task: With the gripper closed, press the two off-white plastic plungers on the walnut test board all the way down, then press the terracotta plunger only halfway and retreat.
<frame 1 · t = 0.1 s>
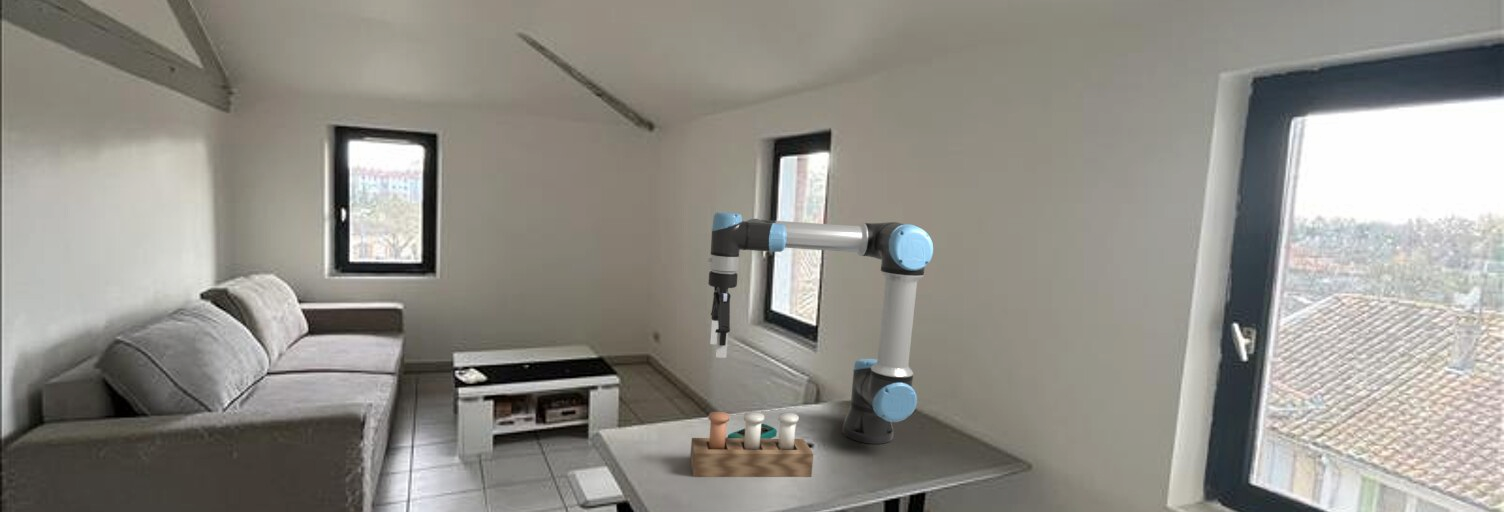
hand: (717, 350, 180), 28 cm above the table, fingers open, 13 cm apart
plug terracotta: (717, 432, 172), point 10 cm above the table, slide at 0.0 cm
digital multimeter: (752, 440, 194), on the table
test board: (750, 468, 174), on the table
plug near: (787, 433, 175), point 10 cm above the table, slide at 0.0 cm
plug mid: (752, 432, 173), point 10 cm above the table, slide at 0.0 cm
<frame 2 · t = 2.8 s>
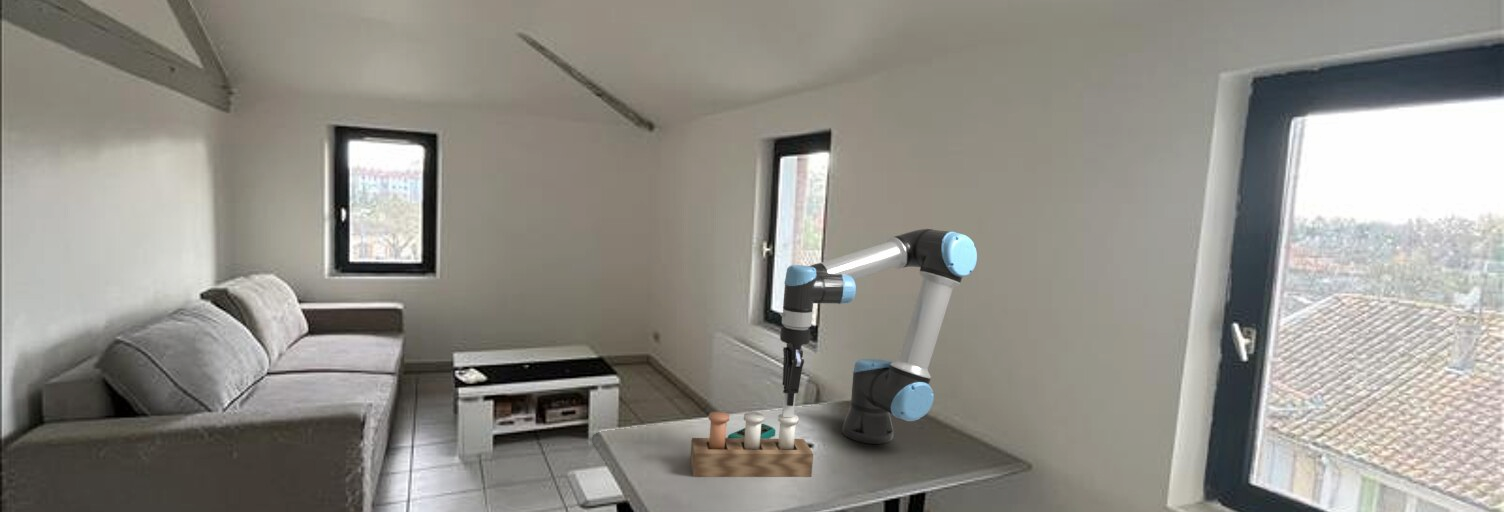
hand: (787, 416, 174), 14 cm above the table, fingers closed
plug near: (787, 433, 175), point 9 cm above the table, slide at 0.3 cm, touching gripper
everything else where it was.
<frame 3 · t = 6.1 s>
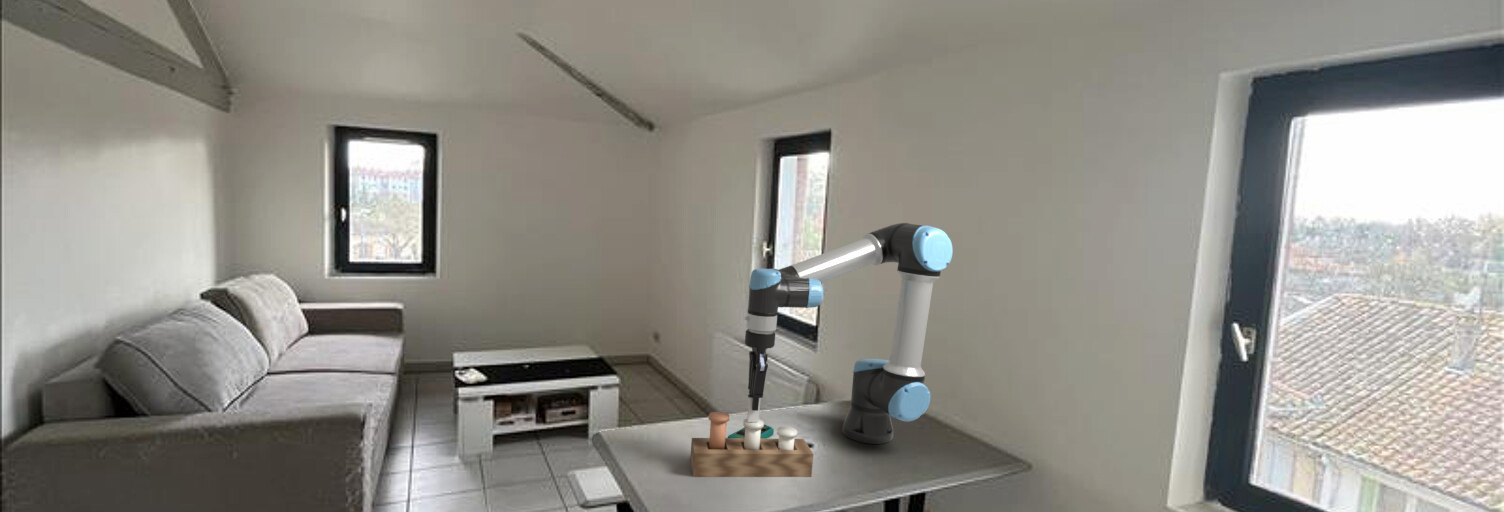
hand: (752, 420, 173), 13 cm above the table, fingers closed
plug near: (785, 447, 175), point 6 cm above the table, slide at 3.8 cm
plug mid: (752, 438, 173), point 8 cm above the table, slide at 1.7 cm, touching gripper
everything else where it was.
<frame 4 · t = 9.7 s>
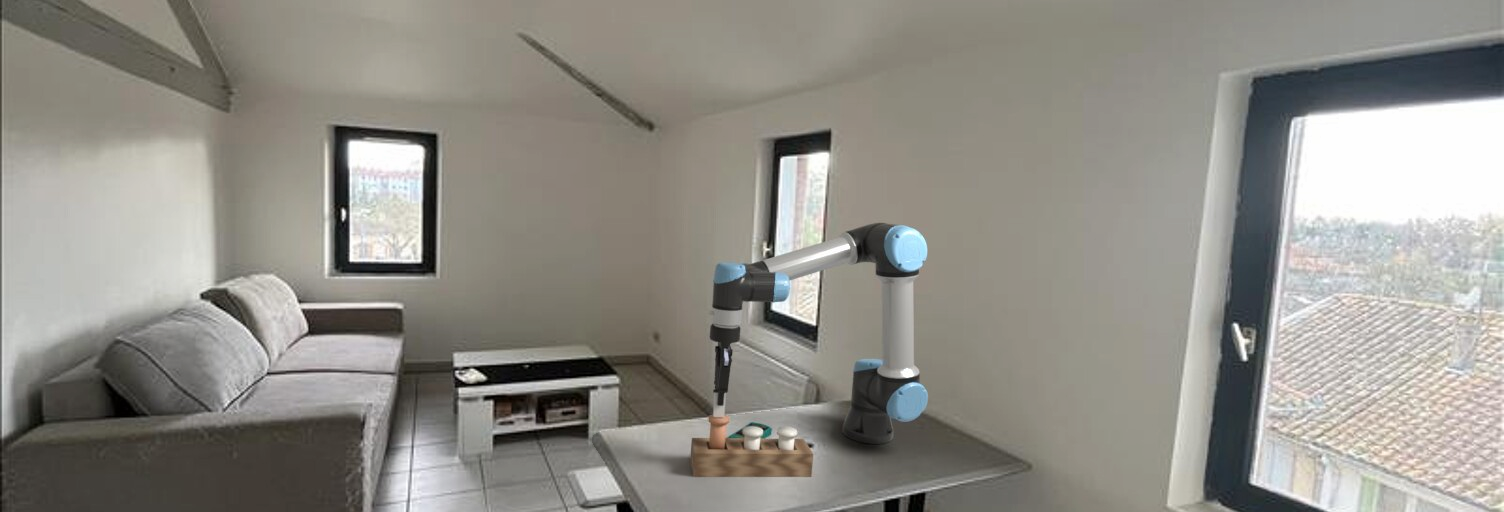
hand: (718, 416, 171), 14 cm above the table, fingers closed
plug terracotta: (717, 434, 172), point 9 cm above the table, slide at 0.6 cm, touching gripper
plug mid: (751, 446, 174), point 6 cm above the table, slide at 3.8 cm
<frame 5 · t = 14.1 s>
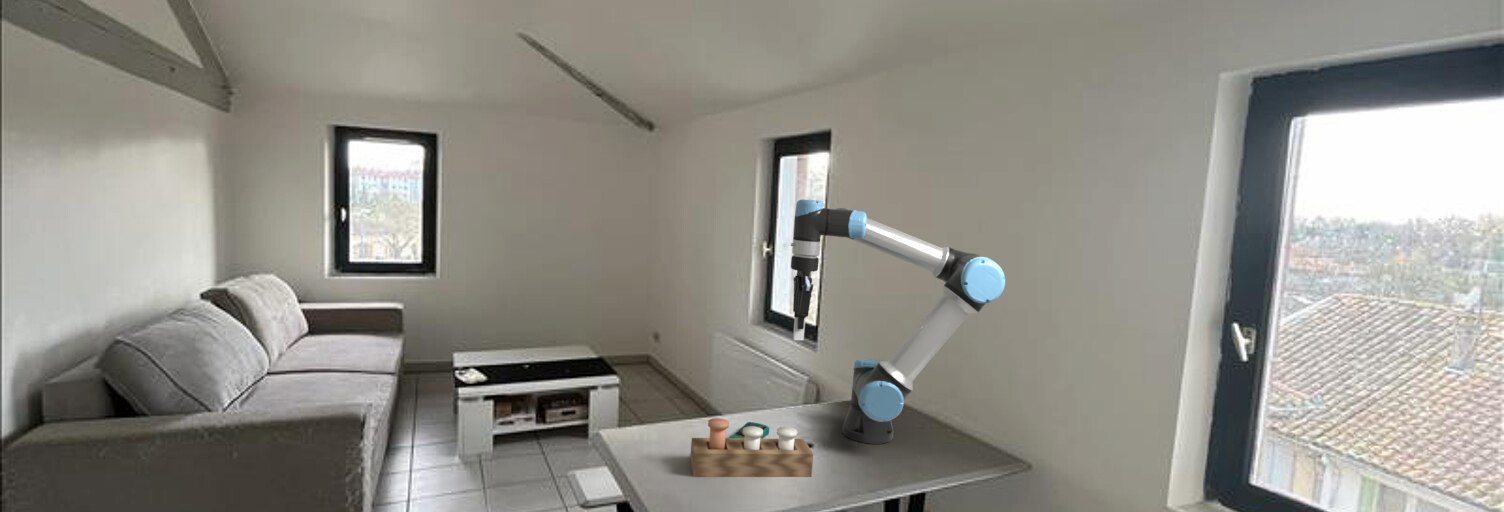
hand: (798, 339, 189), 30 cm above the table, fingers closed
plug terracotta: (717, 439, 172), point 8 cm above the table, slide at 1.8 cm
at the end: plug near slide at 3.8 cm; plug mid slide at 3.8 cm; plug terracotta slide at 1.8 cm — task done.
